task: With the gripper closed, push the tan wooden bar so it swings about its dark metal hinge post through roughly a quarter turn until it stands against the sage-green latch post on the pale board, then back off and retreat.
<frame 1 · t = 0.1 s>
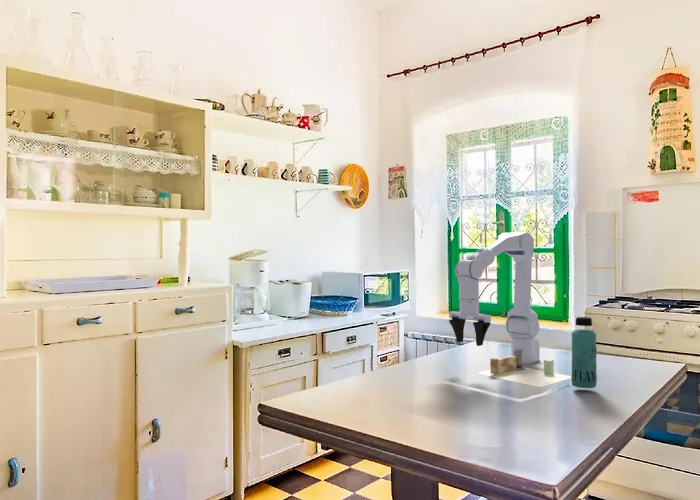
hand: (469, 343, 167), 10 cm above the table, tool pointing down, fingers open, 7 cm apart
board: (524, 377, 164), on the table
tan wooden bar: (503, 364, 168), point 3 cm above the table, hinge at 0.0°, touching hinge post
beverage bottle: (584, 391, 149), on the table
latch post: (548, 376, 166), resting on board
hinge post: (518, 371, 172), resting on board
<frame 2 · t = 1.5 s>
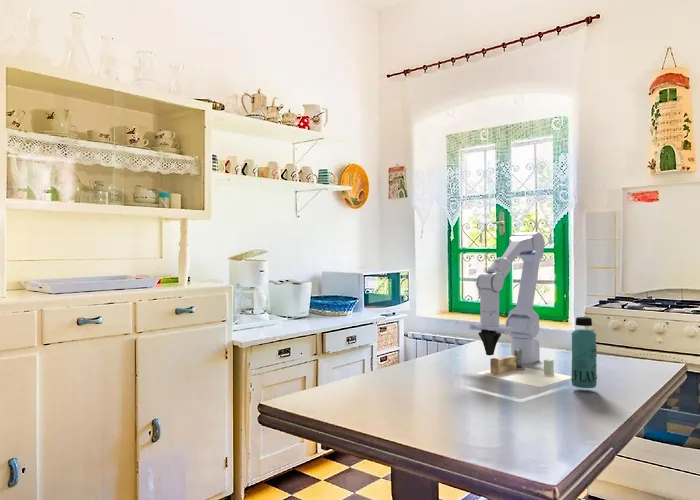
hand: (489, 354, 172), 5 cm above the table, tool pointing down, fingers closed
nothing on the table moved.
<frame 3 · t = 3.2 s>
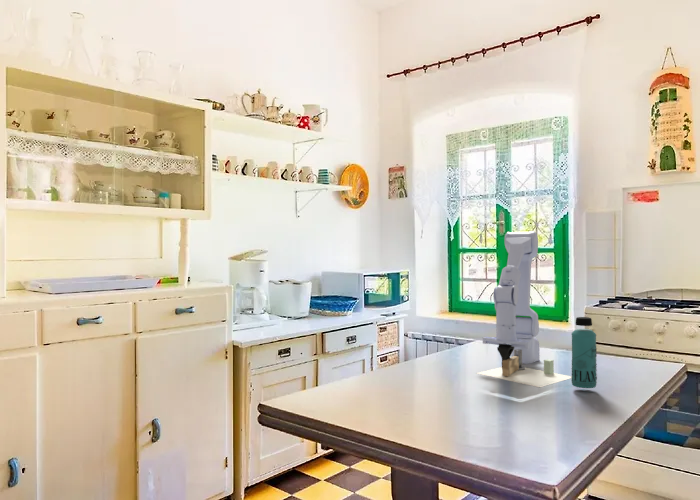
hand: (506, 369, 167), 2 cm above the table, tool pointing down, fingers closed, pressing on tan wooden bar
tan wooden bar: (510, 365, 166), point 3 cm above the table, hinge at 18.1°, touching gripper
everything else where it was.
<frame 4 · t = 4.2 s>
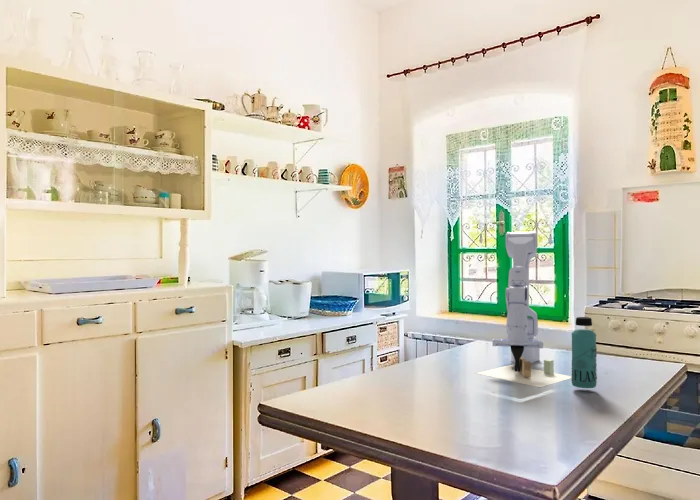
hand: (517, 370, 165), 2 cm above the table, tool pointing down, fingers closed, pressing on tan wooden bar
tan wooden bar: (523, 365, 165), point 3 cm above the table, hinge at 47.1°, touching gripper
everything else where it was.
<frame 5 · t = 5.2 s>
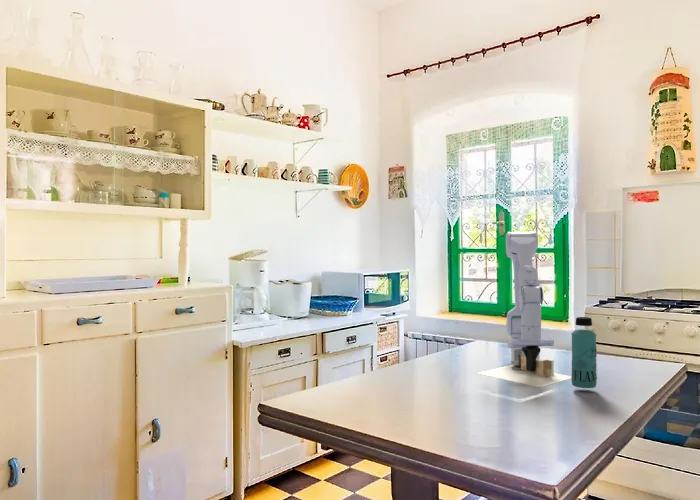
hand: (531, 370, 165), 2 cm above the table, tool pointing down, fingers closed, pressing on tan wooden bar
tan wooden bar: (535, 365, 166), point 3 cm above the table, hinge at 78.2°, touching gripper
everything else where it was.
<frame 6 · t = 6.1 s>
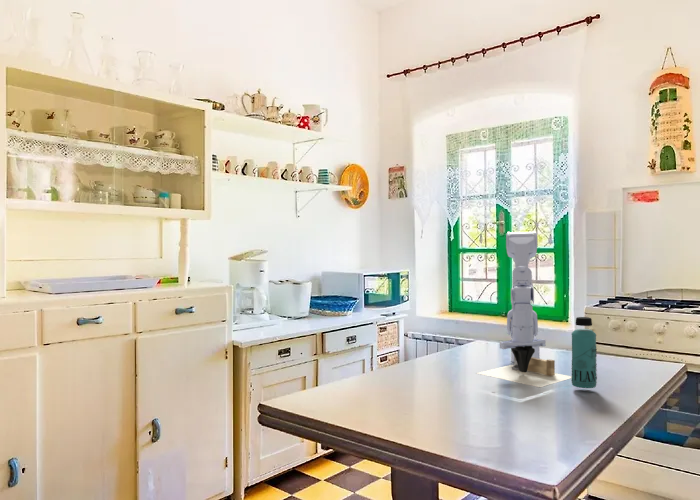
hand: (522, 371, 164), 2 cm above the table, tool pointing down, fingers closed
tan wooden bar: (537, 364, 166), point 3 cm above the table, hinge at 84.5°
everything else where it was.
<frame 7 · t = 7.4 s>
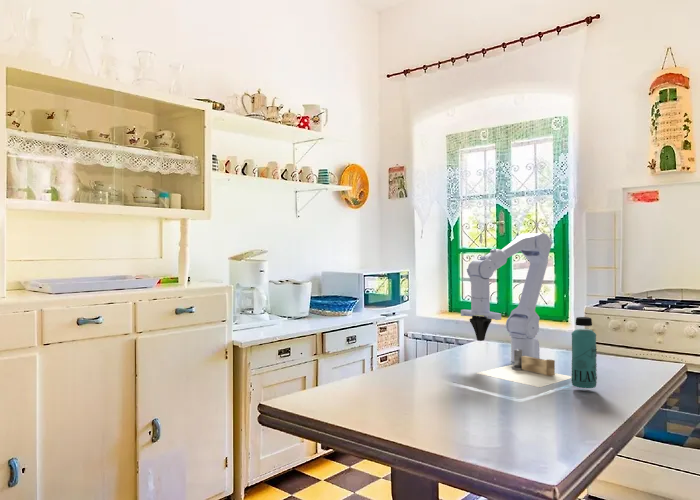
hand: (480, 340, 175), 9 cm above the table, tool pointing down, fingers closed
nothing on the table moved.
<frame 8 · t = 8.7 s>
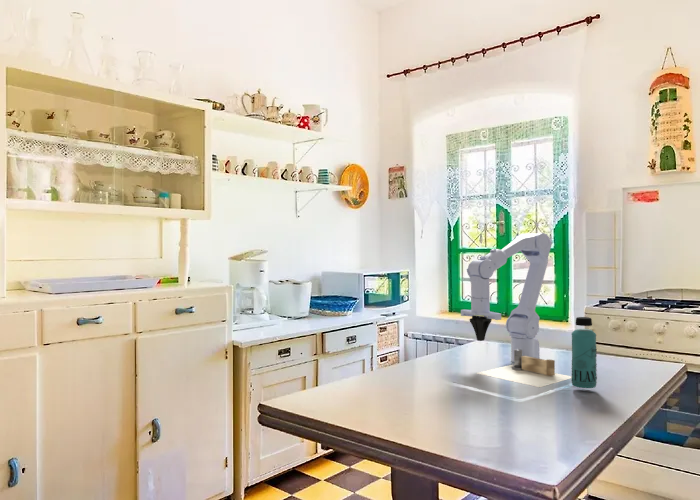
hand: (480, 340, 175), 9 cm above the table, tool pointing down, fingers closed
nothing on the table moved.
at the end: tan wooden bar at +84° (first picture: +0°) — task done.
